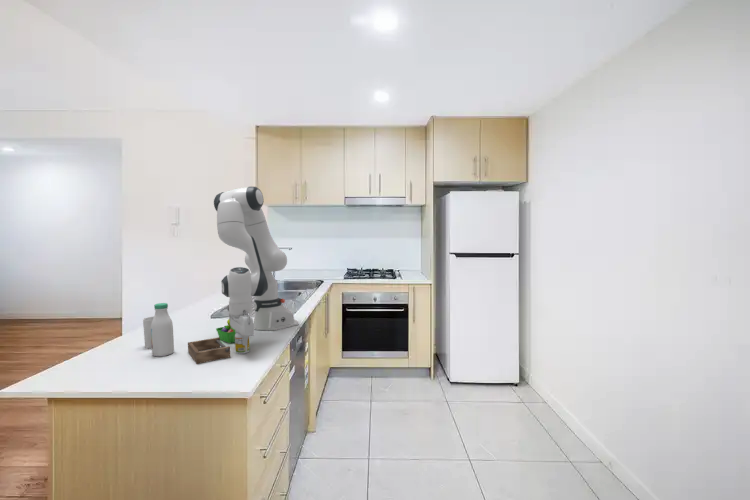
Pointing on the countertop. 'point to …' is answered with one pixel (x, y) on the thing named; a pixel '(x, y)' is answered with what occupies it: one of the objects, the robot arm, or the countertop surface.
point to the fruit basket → (226, 333)
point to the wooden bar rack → (208, 354)
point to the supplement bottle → (240, 344)
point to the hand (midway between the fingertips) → (242, 342)
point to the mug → (147, 331)
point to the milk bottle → (162, 331)
